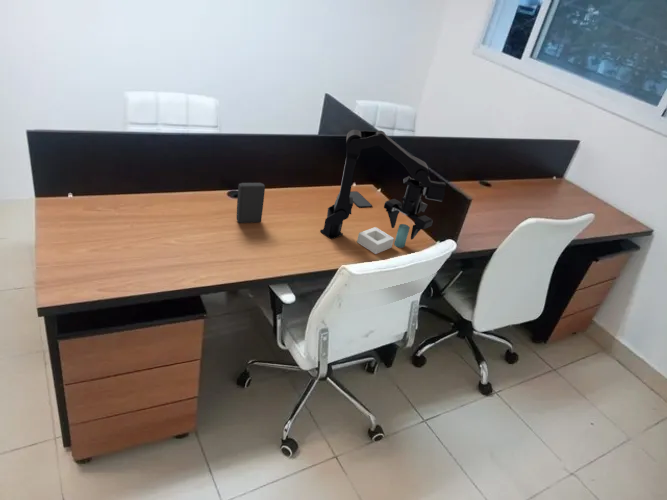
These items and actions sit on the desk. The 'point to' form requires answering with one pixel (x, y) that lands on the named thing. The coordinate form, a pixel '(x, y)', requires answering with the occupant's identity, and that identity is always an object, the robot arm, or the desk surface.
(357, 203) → the smartphone
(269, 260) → the desk surface
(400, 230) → the peg
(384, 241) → the socket
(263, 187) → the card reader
